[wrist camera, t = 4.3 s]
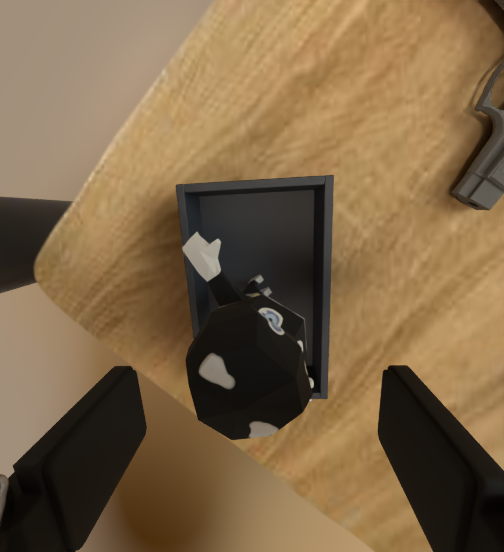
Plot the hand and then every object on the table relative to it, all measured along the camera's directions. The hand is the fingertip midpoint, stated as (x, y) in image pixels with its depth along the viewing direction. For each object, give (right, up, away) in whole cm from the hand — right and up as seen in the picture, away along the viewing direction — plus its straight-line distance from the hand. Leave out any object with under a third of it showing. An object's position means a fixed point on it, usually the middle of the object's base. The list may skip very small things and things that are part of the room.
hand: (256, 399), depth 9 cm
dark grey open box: (+1, +4, +15) cm, 15 cm away
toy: (+1, +4, +14) cm, 15 cm away
